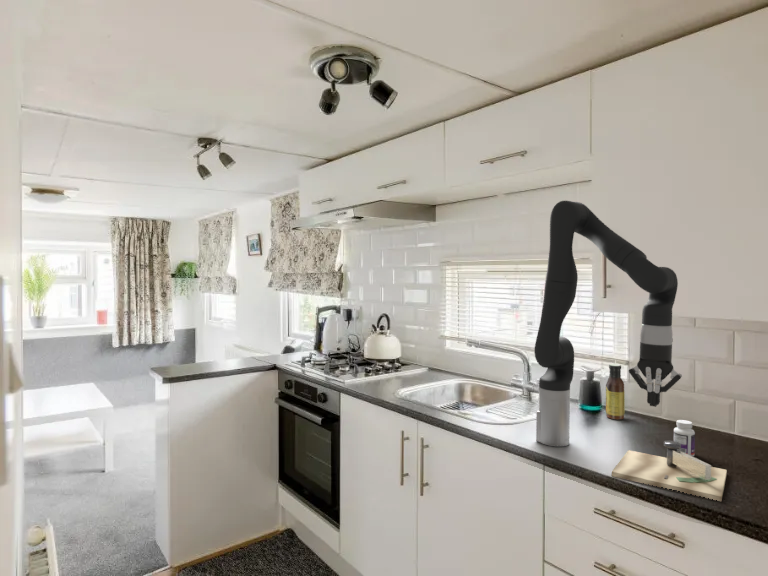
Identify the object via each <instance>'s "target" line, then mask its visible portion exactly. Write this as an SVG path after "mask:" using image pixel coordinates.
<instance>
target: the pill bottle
mask: <svg viewBox="0 0 768 576" xmlns="http://www.w3.org/2000/svg"><path fill="white" fill-rule="evenodd" d="M675 423H676V427H674V428H673V441H675V442H678V443H680V444H681V449H677V450H679V451H681V452H684V453H686V454H688V455H690V456H692V457H695V452H696V443H695V442H696V431H695V430H694V429H693V422H692V421H691V420H686V419H678V420H676V422H675Z"/></svg>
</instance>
